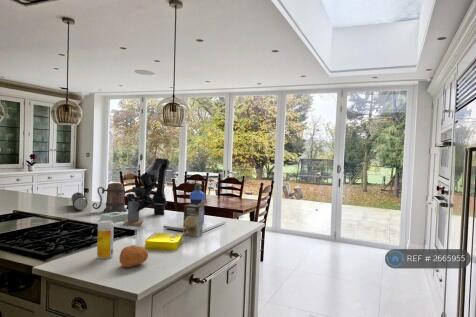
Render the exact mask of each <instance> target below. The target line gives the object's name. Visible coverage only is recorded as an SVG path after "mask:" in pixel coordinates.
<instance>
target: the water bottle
mask: <svg viewBox="0 0 476 317" xmlns="http://www.w3.org/2000/svg"><path fill="white" fill-rule="evenodd" d="M201 186H202V185H201V184H200V183H196V184H195V185H194V187H193V188H194V190H193V191H191V192H190V193H189V199H190V202H189V204H194V205H203V223H204V224H205V199H206V193H205V191H204V192H203V191H202V187H201Z"/></svg>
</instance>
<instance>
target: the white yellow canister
mask: <svg viewBox="0 0 476 317" xmlns="http://www.w3.org/2000/svg"><path fill="white" fill-rule="evenodd" d="M114 223H115V222H113V221H111V220H103V221H102V220H100V221H98V223H97V250H96V254H97V255H96V257H98V259H99V260H108V259H112V257H113V255H114V227H115V226H114Z"/></svg>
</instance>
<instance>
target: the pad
mask: <svg viewBox="0 0 476 317" xmlns="http://www.w3.org/2000/svg"><path fill="white" fill-rule="evenodd" d="M143 222H144V220H143V219H139V221H138V222H134V223H131V222H128V220H124V222H123V223H122V225H123V226H131V227H141V226H142V225H143Z"/></svg>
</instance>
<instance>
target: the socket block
mask: <svg viewBox="0 0 476 317" xmlns="http://www.w3.org/2000/svg"><path fill="white" fill-rule="evenodd" d="M99 220H100V221H103V220H111V221H113V223H116V222H122V221H126V220H128V213H127V212H112V213H102V214H100V219H99Z"/></svg>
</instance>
